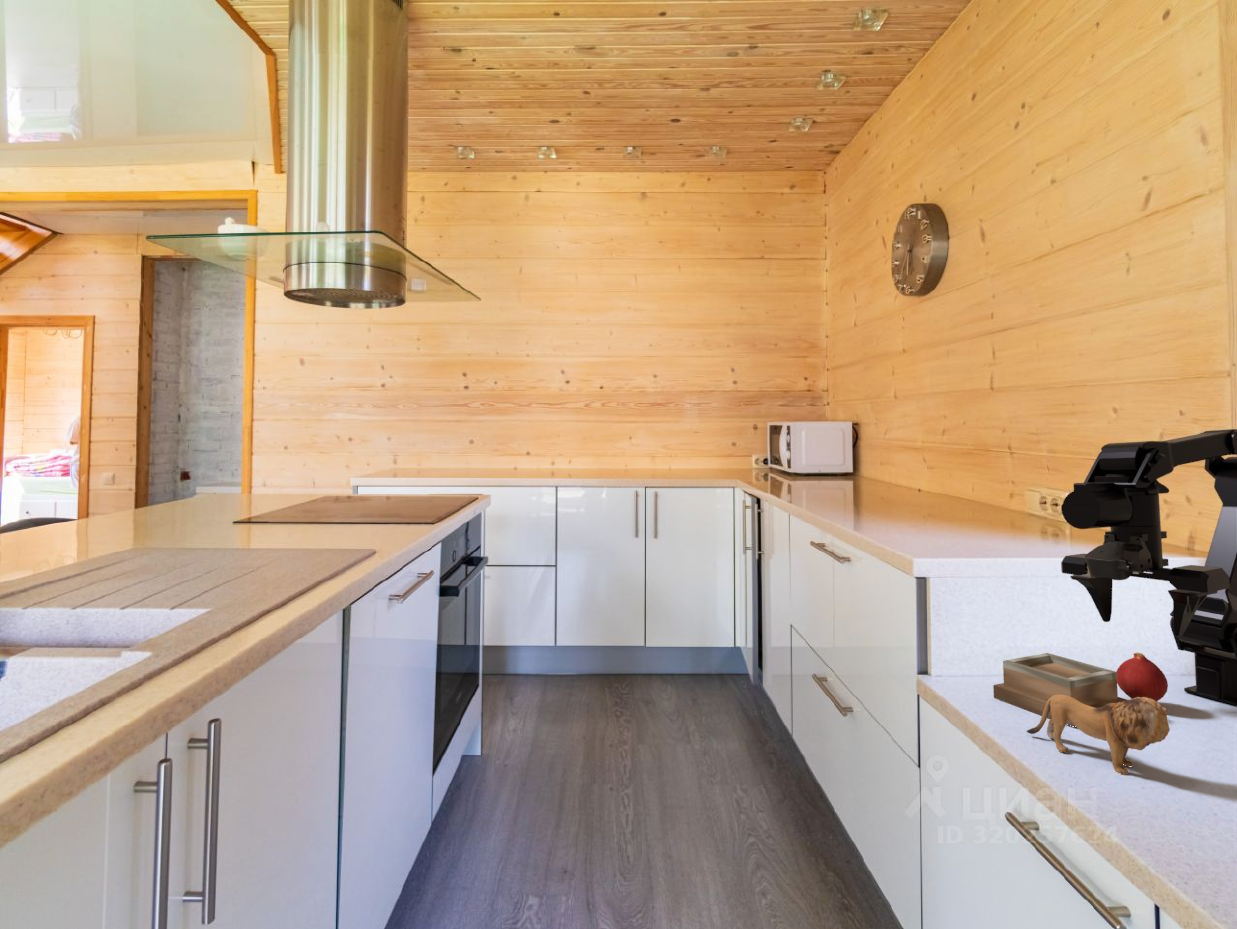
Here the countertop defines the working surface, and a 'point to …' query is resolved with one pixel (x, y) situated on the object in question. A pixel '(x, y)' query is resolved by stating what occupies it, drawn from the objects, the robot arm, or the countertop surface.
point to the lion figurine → (1108, 724)
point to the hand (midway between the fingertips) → (1141, 628)
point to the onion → (1141, 678)
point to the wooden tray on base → (1055, 682)
